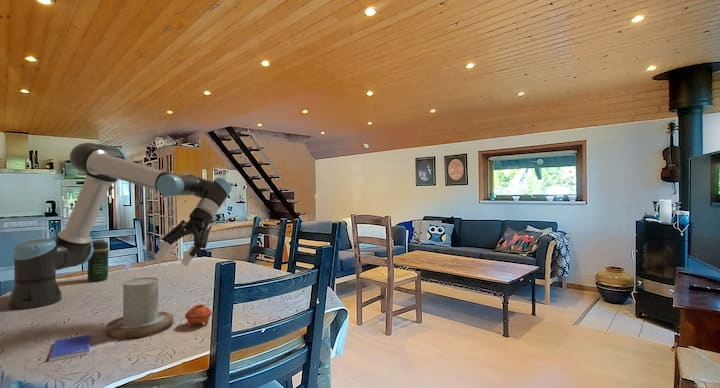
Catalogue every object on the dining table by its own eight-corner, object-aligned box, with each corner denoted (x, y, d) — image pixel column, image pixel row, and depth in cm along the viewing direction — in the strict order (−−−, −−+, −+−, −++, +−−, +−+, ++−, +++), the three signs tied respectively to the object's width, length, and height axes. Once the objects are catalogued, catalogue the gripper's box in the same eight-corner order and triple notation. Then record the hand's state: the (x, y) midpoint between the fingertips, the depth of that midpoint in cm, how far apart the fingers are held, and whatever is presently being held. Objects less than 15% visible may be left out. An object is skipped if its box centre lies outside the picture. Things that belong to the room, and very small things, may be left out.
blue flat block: (89, 349, 96) (91, 334, 106) (49, 357, 91) (54, 340, 102) (89, 355, 96) (91, 339, 106) (49, 363, 91) (54, 346, 102)
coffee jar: (108, 280, 170) (108, 241, 170) (87, 283, 165) (87, 242, 165) (108, 276, 178) (108, 238, 178) (87, 278, 173) (88, 239, 173)
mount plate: (92, 332, 110) (93, 324, 110) (149, 314, 126) (149, 307, 126) (131, 343, 102) (131, 335, 102) (185, 322, 119) (185, 315, 119)
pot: (193, 330, 112) (190, 308, 112) (182, 330, 117) (179, 308, 117) (217, 322, 118) (214, 301, 119) (206, 322, 123) (203, 302, 124)
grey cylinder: (151, 312, 121) (151, 276, 121) (163, 319, 115) (163, 281, 115) (118, 320, 114) (118, 281, 114) (129, 328, 108) (129, 287, 108)
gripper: (234, 221, 135) (202, 271, 123) (187, 216, 146) (154, 262, 134) (222, 208, 130) (188, 260, 118) (175, 205, 140) (139, 251, 128)
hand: (170, 261), depth 126 cm, fingers open, 13 cm apart
